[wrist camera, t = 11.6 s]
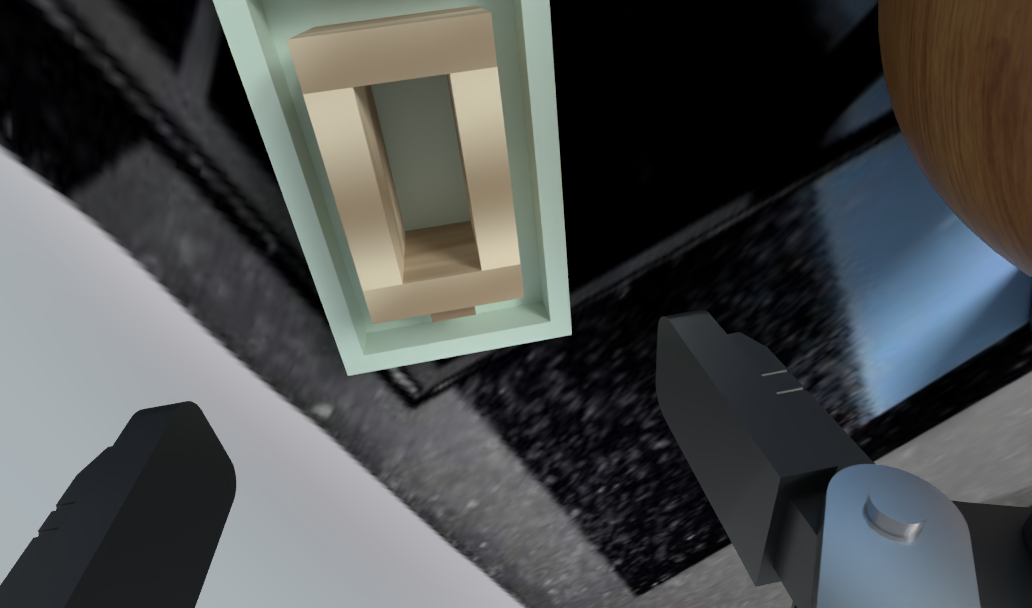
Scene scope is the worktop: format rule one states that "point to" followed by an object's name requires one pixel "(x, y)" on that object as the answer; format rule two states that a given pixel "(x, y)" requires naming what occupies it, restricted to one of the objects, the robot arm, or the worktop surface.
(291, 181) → the tray
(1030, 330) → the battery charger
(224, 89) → the worktop surface
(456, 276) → the hollow wooden block
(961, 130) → the bowl
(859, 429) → the worktop surface
